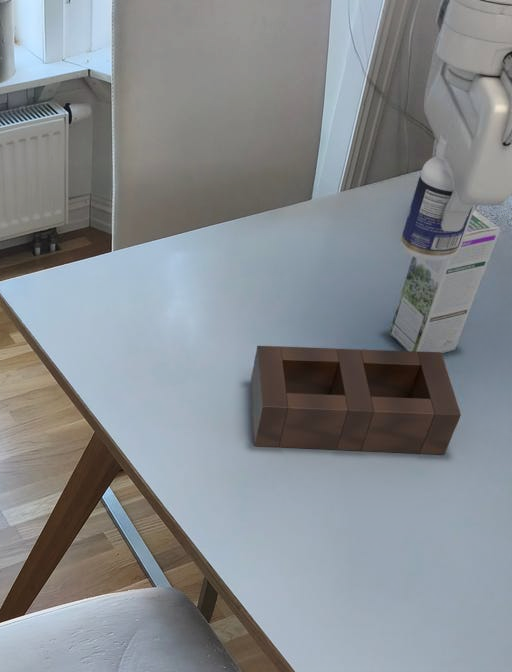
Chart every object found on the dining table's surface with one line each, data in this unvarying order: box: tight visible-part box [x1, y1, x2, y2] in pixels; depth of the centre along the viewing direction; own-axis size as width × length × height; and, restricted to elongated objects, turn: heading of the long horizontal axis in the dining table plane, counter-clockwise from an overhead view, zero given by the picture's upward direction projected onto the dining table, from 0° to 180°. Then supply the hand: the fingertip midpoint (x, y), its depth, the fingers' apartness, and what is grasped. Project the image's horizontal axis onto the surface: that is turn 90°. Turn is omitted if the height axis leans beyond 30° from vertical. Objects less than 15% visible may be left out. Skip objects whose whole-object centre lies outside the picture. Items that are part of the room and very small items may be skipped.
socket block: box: [249, 345, 462, 456], centre depth 93 cm, size 19×11×5 cm, turn 84°
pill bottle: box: [400, 133, 477, 261], centre depth 79 cm, size 5×5×10 cm
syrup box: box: [388, 209, 501, 354], centre depth 98 cm, size 6×6×14 cm
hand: (442, 209), depth 80 cm, fingers closed on pill bottle, 5 cm apart
